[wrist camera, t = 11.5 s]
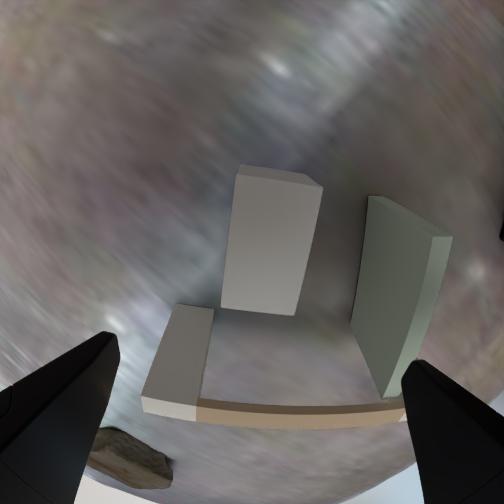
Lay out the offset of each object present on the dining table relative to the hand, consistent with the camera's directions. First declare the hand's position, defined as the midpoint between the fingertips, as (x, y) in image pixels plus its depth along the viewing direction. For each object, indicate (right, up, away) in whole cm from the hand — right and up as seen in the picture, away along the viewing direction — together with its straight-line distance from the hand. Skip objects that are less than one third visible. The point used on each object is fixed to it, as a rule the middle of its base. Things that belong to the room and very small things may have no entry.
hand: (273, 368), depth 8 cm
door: (+8, +2, +12) cm, 15 cm away
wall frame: (+3, -2, +14) cm, 15 cm away
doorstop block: (0, +5, +11) cm, 12 cm away
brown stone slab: (-20, -26, +25) cm, 41 cm away
